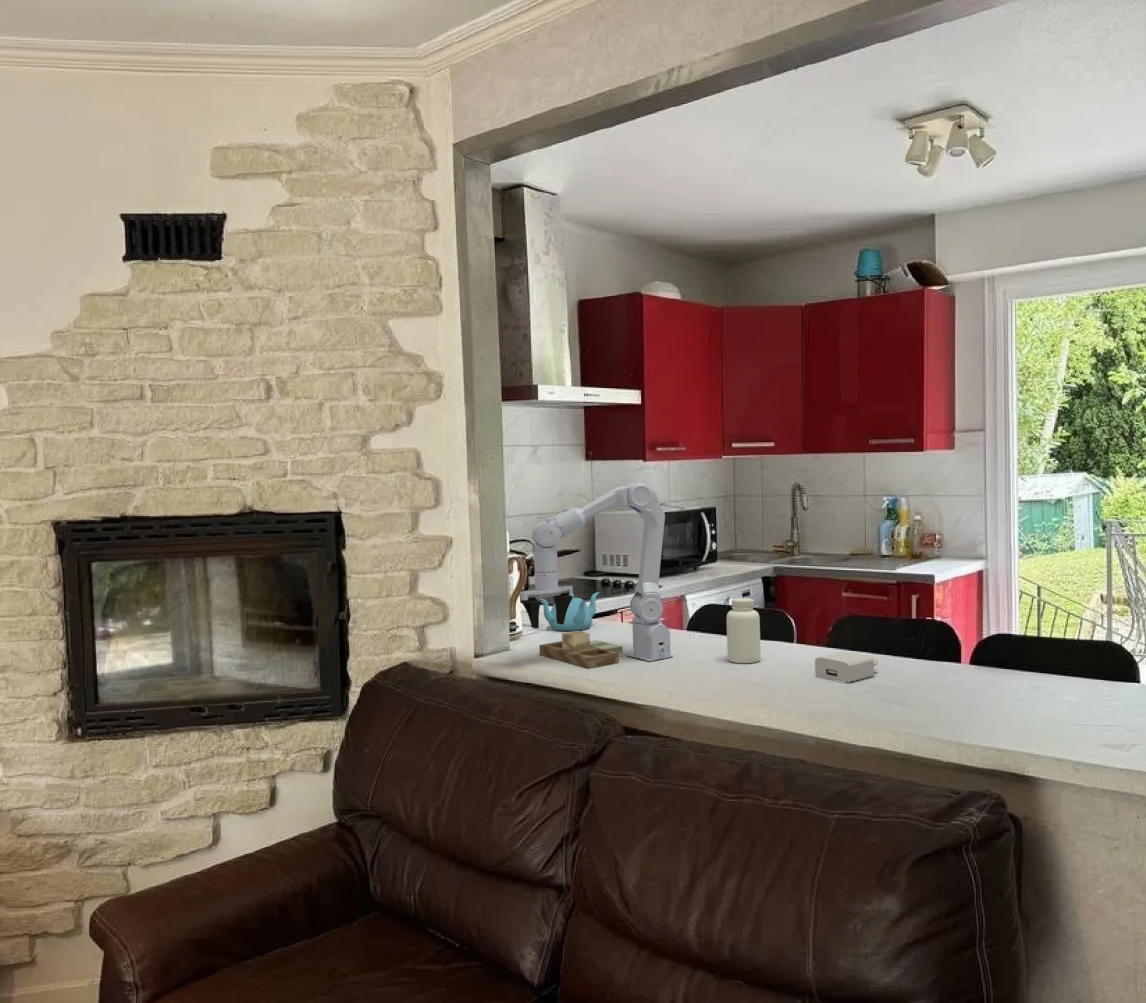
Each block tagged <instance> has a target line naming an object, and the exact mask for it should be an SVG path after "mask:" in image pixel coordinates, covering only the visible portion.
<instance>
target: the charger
mask: <svg viewBox="0 0 1146 1003" xmlns="http://www.w3.org/2000/svg"><path fill="white" fill-rule="evenodd" d="M878 664H879V662H878V660H877V658H876V659H874V657H872V656H869V655H864V654H859V653H853V652H848V651H840V652H835V653H831V654H828V655H823V656H819V657H817V658H815V659H814V669H815V670H814V673H815V674H814V675H815V676H816V677H817V678H821V679H825V680H832V681H834V680H839V681H844V682H847V683H846V684H848V683H852V681H853V682H857V681H859V680H864V679H867V678H871V677H874V676H875V670H874V669H875V667H877V665H878ZM856 680H857V681H856ZM839 681H838V682H839ZM844 682H843V683H844Z"/></svg>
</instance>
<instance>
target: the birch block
mask: <svg viewBox="0 0 1146 1003" xmlns="http://www.w3.org/2000/svg"><path fill="white" fill-rule="evenodd" d="M590 635H591V634H590V633H589V632H585V631H582V630H578V631H567V632H564V633H561V639H562V640H561V641H562V648H563V649H564V650H568V651H572V652H577V651H583V650H588V649H590V641H591V639H590V638H591V637H590Z"/></svg>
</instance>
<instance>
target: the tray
mask: <svg viewBox="0 0 1146 1003" xmlns="http://www.w3.org/2000/svg"><path fill="white" fill-rule="evenodd" d="M539 656H544V657H547V658H551V659H555V660H558V661H561V662H564V663H568V664H572V665H575V666H579V667H582V668H586V669H594V668H600V667H604V666H610V665H615V663H616V664H619V663H620V657H623V646H621V645H619V644H618V645H617V644H614V643H611V642H606V641H602V640H598V639H596V640H595V639H594V640H590V649H588V650H583V651H577V652H572V651H568V650H564V649H563V648H562V640H560V641H555V642H550V643H549V642H548V643H543V644H539Z"/></svg>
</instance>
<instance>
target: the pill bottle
mask: <svg viewBox="0 0 1146 1003" xmlns="http://www.w3.org/2000/svg"><path fill="white" fill-rule="evenodd" d="M754 607H755V600H754V599H753V598H747V597H746V598H745V597H741V598H740V597H739V598H738V597H737V598H733V599H731V608H732V609H731V610H729V611H728V612H727V614H726V644H727V645H726V646H727V647H726V648H727V659H728V661H729V662H732V663H737V664H754V663H758V662H760V661H761V655H762V654H761V625H760V624H761V621H760V619H761V618H760V614H759V612H758V611H757V610H754Z"/></svg>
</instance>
